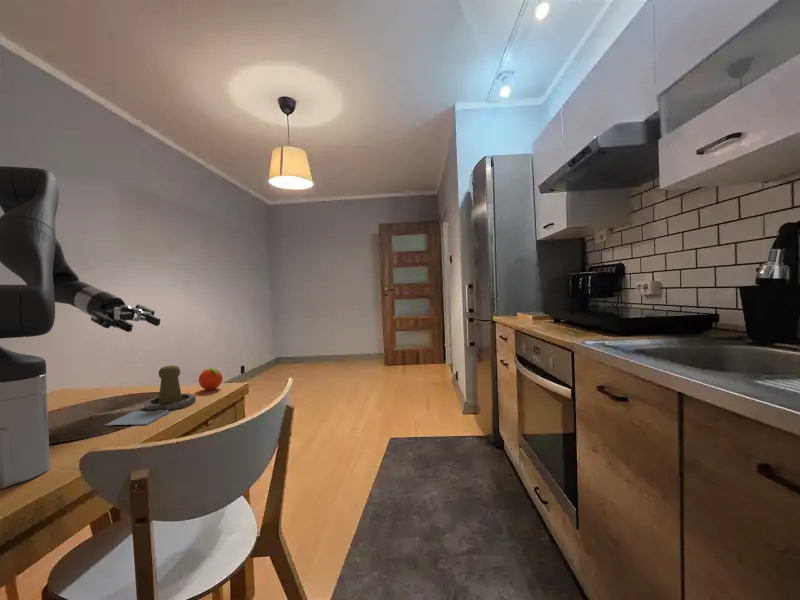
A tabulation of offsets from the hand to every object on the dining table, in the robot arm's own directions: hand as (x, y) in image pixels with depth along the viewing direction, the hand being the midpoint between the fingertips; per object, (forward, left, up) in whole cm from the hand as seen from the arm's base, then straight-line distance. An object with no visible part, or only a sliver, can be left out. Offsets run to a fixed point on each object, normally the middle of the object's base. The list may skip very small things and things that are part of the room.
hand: (145, 325), depth 102 cm
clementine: (+19, -8, -23) cm, 31 cm away
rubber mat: (-8, -3, -23) cm, 25 cm away
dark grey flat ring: (+3, -4, -23) cm, 23 cm away
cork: (+3, -4, -23) cm, 24 cm away
